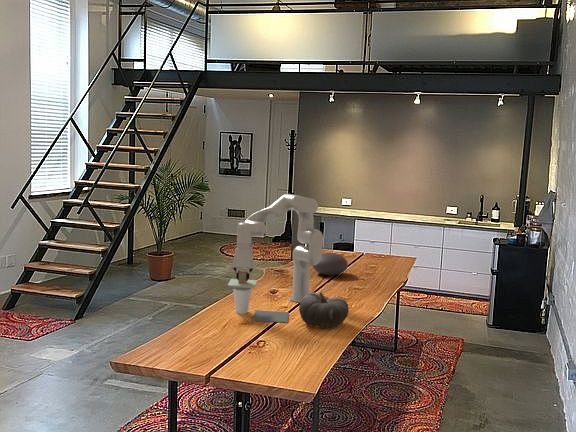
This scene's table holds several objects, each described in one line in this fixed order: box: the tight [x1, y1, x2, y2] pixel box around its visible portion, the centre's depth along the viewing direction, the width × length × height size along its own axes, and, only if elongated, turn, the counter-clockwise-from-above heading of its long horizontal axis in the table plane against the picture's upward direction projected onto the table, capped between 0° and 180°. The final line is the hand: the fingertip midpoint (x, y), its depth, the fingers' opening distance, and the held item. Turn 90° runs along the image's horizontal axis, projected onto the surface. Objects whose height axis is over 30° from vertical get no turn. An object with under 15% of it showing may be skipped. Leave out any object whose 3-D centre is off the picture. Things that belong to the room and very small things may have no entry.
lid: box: [227, 269, 258, 289], centre depth 335 cm, size 14×14×7 cm
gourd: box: [298, 291, 349, 329], centre depth 322 cm, size 25×25×17 cm
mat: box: [251, 310, 290, 324], centre depth 331 cm, size 18×18×1 cm
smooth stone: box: [311, 252, 349, 276], centre depth 434 cm, size 25×25×15 cm
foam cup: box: [232, 287, 252, 315], centre depth 337 cm, size 10×9×13 cm
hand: (242, 279), depth 335 cm, fingers closed on lid, 4 cm apart
